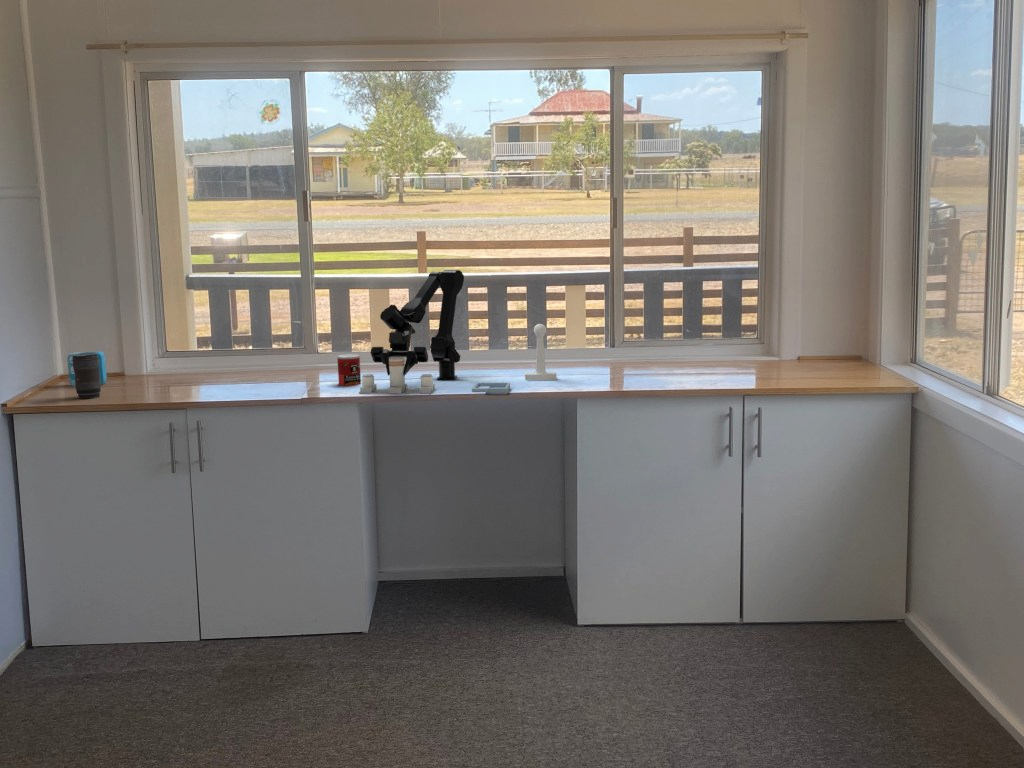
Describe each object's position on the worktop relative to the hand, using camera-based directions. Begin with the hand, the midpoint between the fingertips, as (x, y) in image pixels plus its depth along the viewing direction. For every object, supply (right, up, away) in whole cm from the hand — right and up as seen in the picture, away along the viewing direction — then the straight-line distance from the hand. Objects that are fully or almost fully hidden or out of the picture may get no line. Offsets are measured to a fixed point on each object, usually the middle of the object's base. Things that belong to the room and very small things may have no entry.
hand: (396, 374), depth 336 cm
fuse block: (0, -6, +3) cm, 7 cm away
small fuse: (+10, -5, +1) cm, 12 cm away
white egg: (-10, -5, +4) cm, 12 cm away
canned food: (-18, -4, +19) cm, 27 cm away
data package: (-116, -4, +34) cm, 121 cm away
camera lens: (-106, -8, +9) cm, 106 cm away
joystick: (+49, -1, +27) cm, 56 cm away
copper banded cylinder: (0, -5, +2) cm, 6 cm away
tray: (+32, -6, +4) cm, 32 cm away
